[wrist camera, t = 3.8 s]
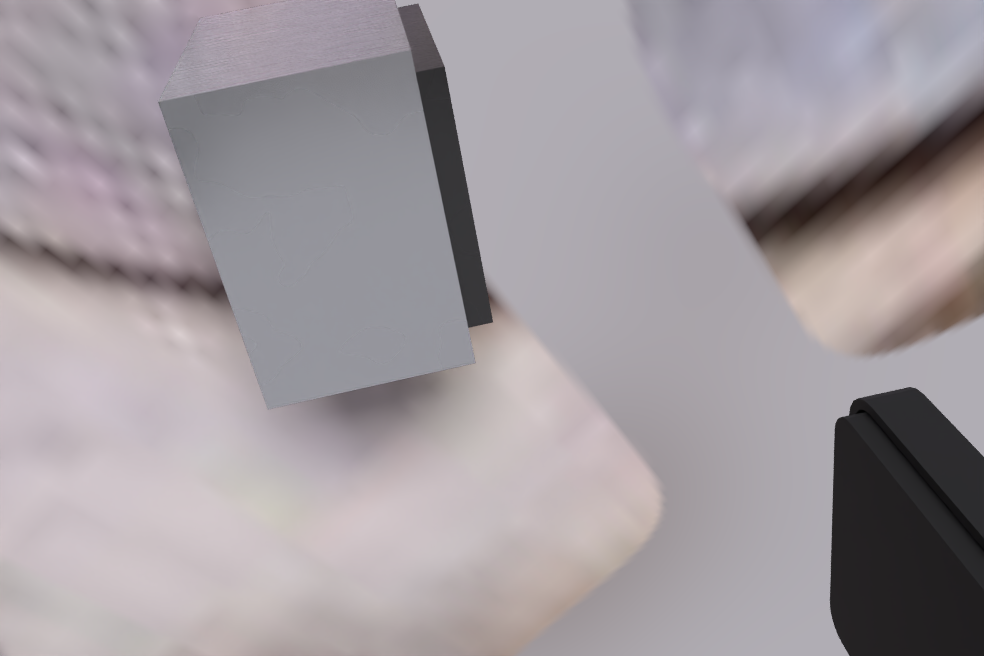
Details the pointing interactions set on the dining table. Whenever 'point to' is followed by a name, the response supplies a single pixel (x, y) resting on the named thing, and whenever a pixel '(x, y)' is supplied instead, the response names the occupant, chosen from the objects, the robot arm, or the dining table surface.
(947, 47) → the dining table surface
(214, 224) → the grey thick square block
